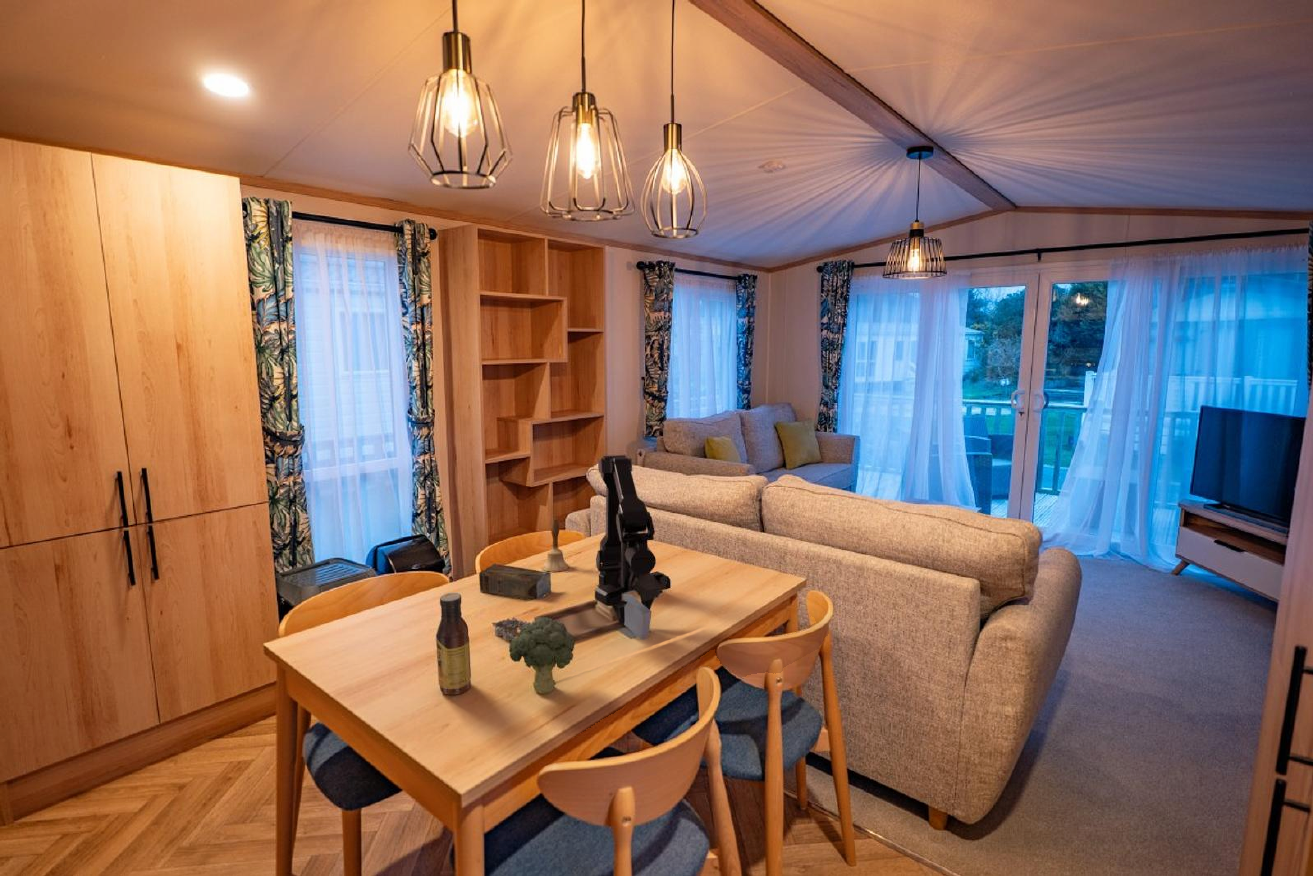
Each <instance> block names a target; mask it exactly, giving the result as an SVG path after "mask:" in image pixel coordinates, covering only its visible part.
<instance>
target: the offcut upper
mask: <svg viewBox="0 0 1313 876" xmlns="http://www.w3.org/2000/svg"><path fill="white" fill-rule="evenodd" d="M598 607H600V608H601V609H603V610H605V611H606V612H608V613H609V614H612V613H615V612H614V609H613V608H612V606H606V605H604V604H603V603H601V602H599V601H598Z"/></svg>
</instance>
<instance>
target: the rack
mask: <svg viewBox="0 0 1313 876" xmlns="http://www.w3.org/2000/svg"><path fill="white" fill-rule="evenodd" d="M597 604H598V600H596V599H593V600H590V601H586V602H582V603H578V604H575V605H571V606H569V607H566V608H562V609H558V610H553V611H551V612H547V613H543V614H541V615H537V616H534V617H533V622H534V621H537V620H538V619H540V618H542V617H547V618H550V619H552V620H556V621H557V622H562V623H563V624H564V625H565V627H566V630H567V632H568V633H570V634H571V635H572V636H573V638H574V642H576V641H579V640H582V639H586V638H588V637H591V636H595V635H598V634H601V633H604V632H606V631H610V630H613V629H616V628H617V629H618V628H621V627H623V626H622V625H620V622H619V620H614V621H611V620H610V619H608V618H607V617H605V616H604V615H602V614H601V613H599V612H598V611H596V605H597Z"/></svg>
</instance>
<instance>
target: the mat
mask: <svg viewBox="0 0 1313 876" xmlns="http://www.w3.org/2000/svg"><path fill="white" fill-rule="evenodd" d="M616 631H617V632H619V633H621V634H622V635H624V636H625V637H627V638H628V639H630V640H632V639H635V638H638V637H637V636H636V635H635V634H634V633H633V632H632V631H631V630H630V629H629V628H627V627H626V626H622V627H619V628H617V629H616ZM651 632H652V631H650V630H649V634H650V633H651Z"/></svg>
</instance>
